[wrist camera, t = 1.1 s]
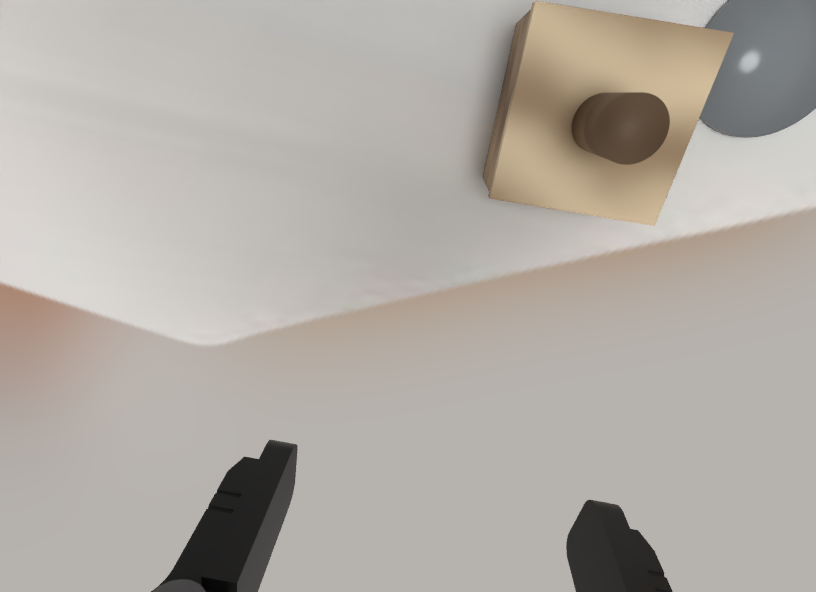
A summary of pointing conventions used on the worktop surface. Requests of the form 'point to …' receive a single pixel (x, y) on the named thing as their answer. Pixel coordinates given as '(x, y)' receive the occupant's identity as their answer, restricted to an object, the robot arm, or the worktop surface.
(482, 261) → the worktop surface
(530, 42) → the lid
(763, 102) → the coaster
